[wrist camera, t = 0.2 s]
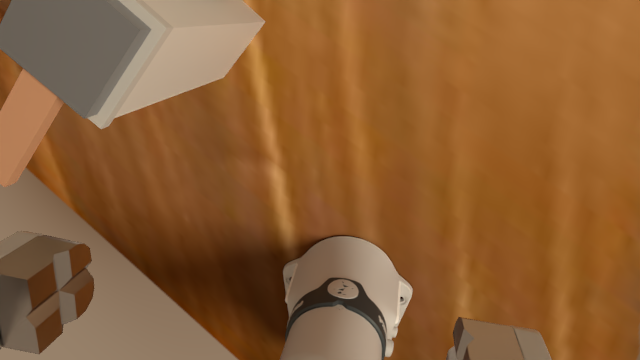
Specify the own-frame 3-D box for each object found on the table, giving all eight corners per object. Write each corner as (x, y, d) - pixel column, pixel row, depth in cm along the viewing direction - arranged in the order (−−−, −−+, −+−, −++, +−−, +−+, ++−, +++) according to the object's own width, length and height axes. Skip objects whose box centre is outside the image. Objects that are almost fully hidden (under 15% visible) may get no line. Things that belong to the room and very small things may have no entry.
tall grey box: (224, 80, 58) (100, 129, 34) (165, 29, 57) (-5, 41, 33) (269, 21, 54) (166, 28, 30) (207, -35, 53) (51, -74, 29)
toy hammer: (41, 201, 37) (27, 209, 36) (-40, 137, 36) (-57, 142, 35) (151, 29, 31) (139, 30, 29) (56, -55, 30) (39, -58, 28)
